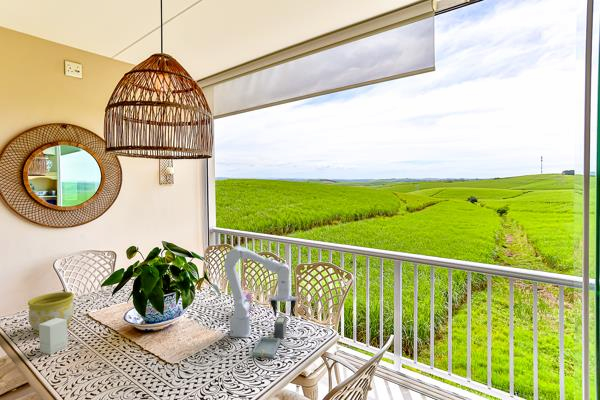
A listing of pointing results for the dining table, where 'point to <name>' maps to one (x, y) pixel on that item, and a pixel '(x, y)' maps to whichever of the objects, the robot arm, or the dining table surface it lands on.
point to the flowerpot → (50, 308)
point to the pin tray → (266, 347)
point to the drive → (280, 327)
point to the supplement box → (53, 335)
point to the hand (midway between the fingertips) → (283, 315)
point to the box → (248, 296)
